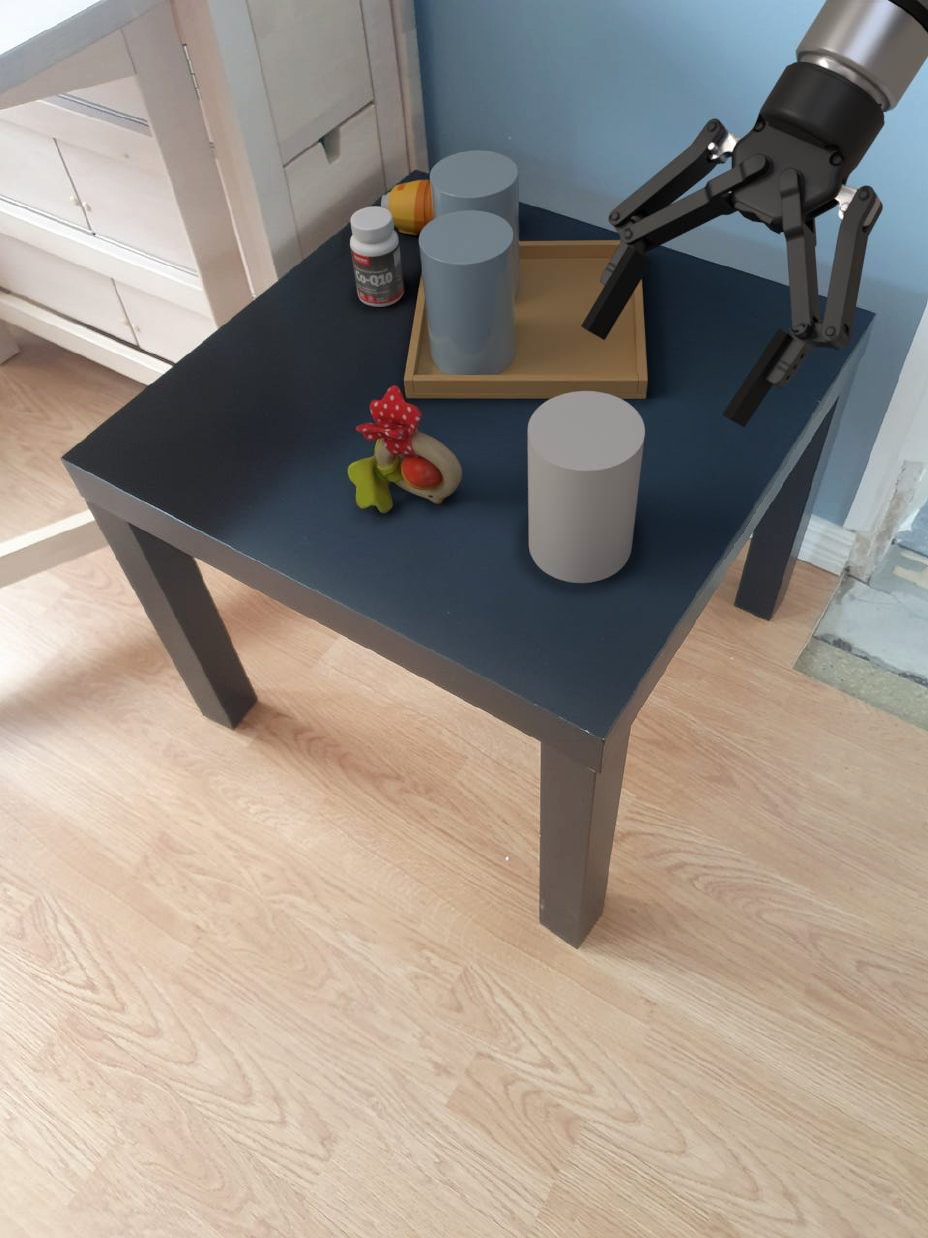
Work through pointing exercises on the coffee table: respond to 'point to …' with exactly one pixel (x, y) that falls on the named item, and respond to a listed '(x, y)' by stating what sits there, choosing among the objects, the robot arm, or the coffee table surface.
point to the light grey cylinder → (583, 484)
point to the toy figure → (410, 206)
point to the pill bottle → (376, 257)
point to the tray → (548, 334)
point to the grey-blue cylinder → (479, 190)
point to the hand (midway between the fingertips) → (659, 375)
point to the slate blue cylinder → (469, 292)
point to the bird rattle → (423, 462)
